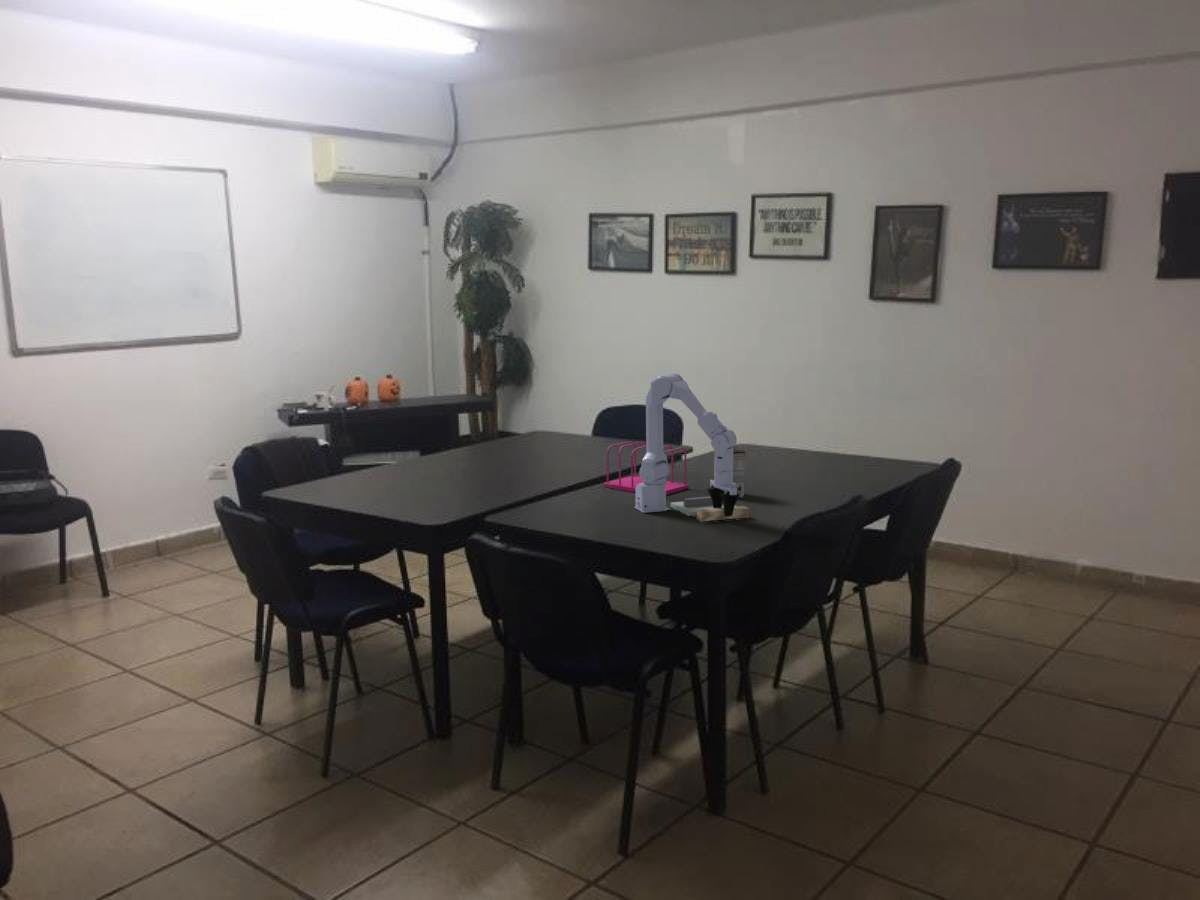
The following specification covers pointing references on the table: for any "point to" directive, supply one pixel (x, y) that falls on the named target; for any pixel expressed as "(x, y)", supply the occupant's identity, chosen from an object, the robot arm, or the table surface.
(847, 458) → the table surface
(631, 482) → the file sorter
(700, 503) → the ridge stand
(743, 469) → the coffee box
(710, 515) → the tan wooden block
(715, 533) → the table surface
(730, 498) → the robot arm
